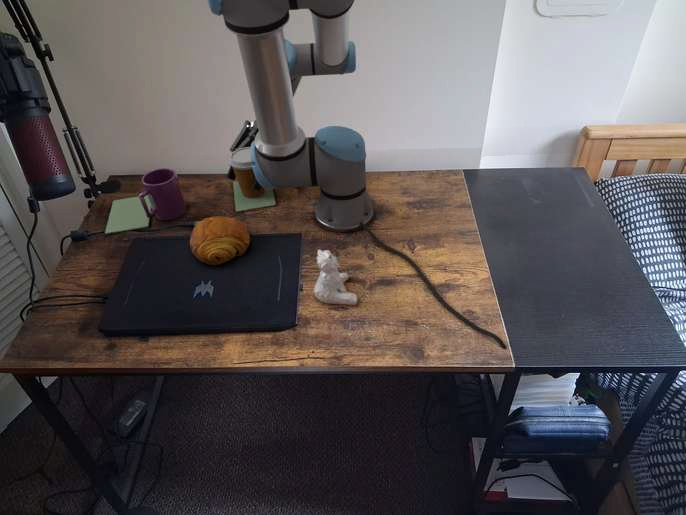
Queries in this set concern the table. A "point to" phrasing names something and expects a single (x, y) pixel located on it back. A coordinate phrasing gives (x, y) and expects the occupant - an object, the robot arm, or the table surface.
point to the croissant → (219, 239)
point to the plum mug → (163, 194)
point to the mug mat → (127, 215)
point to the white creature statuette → (332, 281)
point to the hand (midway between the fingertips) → (242, 184)
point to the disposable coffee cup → (244, 172)
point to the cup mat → (252, 199)
